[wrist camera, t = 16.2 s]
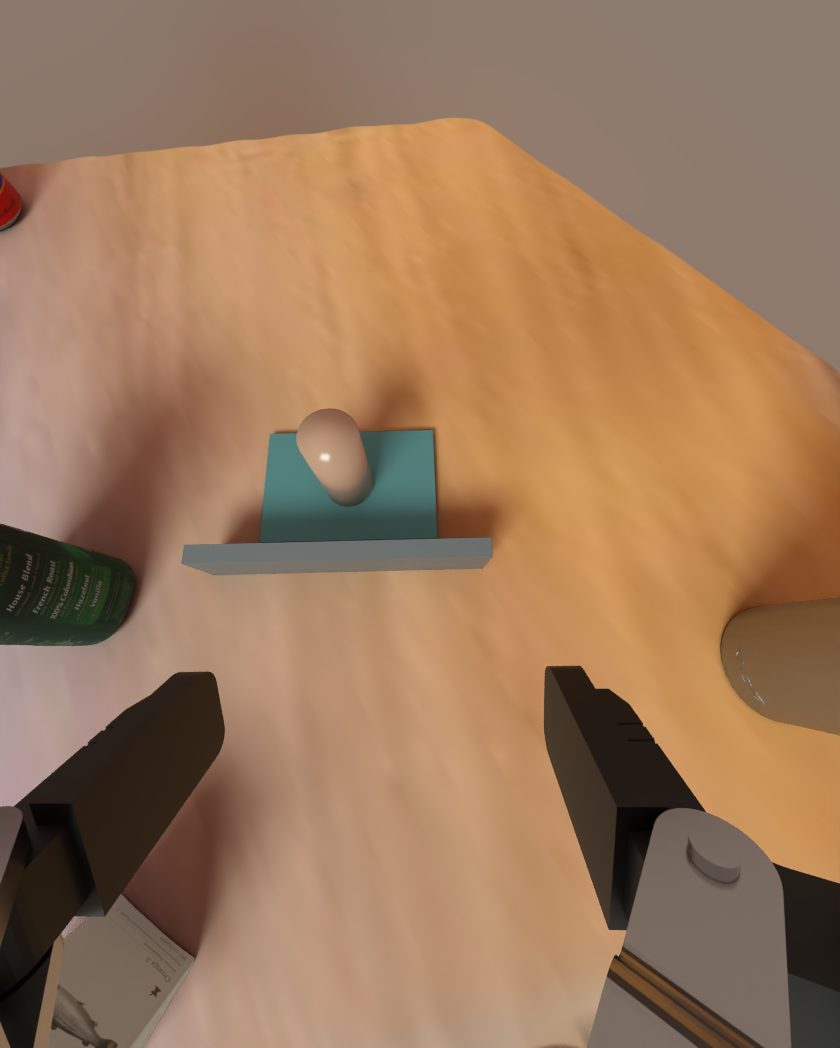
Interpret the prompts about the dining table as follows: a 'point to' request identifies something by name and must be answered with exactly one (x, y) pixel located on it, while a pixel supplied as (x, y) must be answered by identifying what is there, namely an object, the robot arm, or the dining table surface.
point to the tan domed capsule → (336, 456)
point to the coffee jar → (59, 591)
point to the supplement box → (115, 981)
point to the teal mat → (387, 514)
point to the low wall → (339, 556)
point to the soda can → (8, 203)
